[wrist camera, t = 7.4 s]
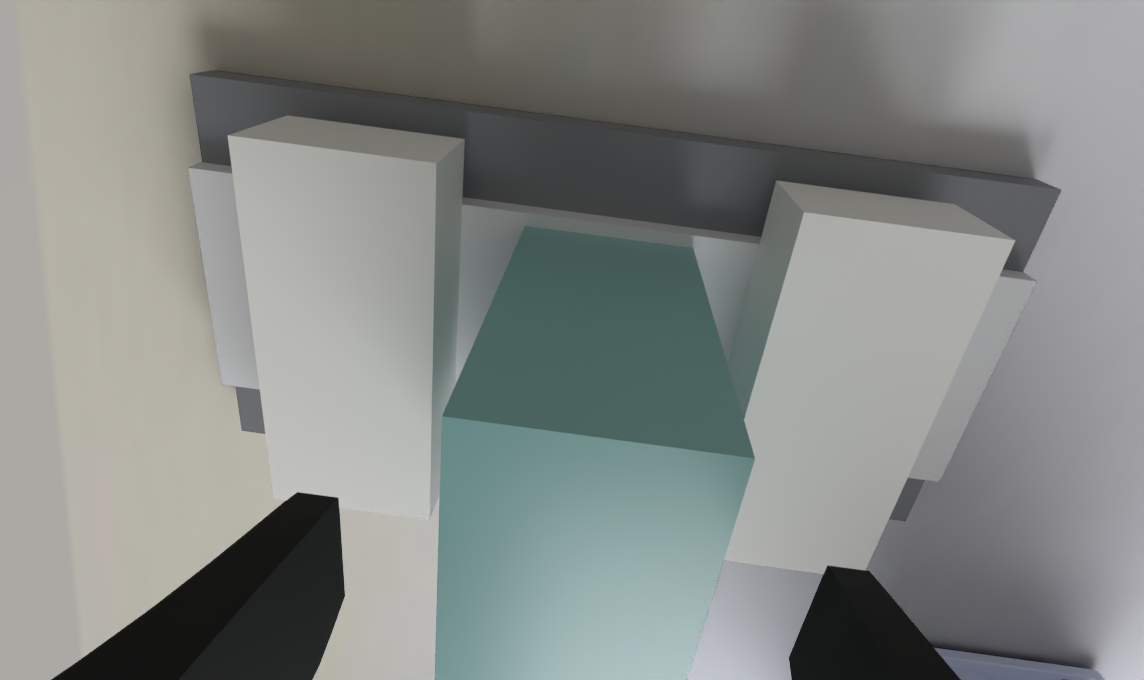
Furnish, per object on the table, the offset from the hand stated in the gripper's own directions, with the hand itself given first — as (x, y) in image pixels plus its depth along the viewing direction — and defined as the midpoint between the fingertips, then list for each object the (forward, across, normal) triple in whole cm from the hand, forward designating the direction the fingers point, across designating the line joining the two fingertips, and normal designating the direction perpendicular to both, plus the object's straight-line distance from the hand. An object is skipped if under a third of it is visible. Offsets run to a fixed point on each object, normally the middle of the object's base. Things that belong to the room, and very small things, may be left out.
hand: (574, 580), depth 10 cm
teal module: (+8, 0, 0) cm, 8 cm away
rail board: (+9, 0, 0) cm, 9 cm away
